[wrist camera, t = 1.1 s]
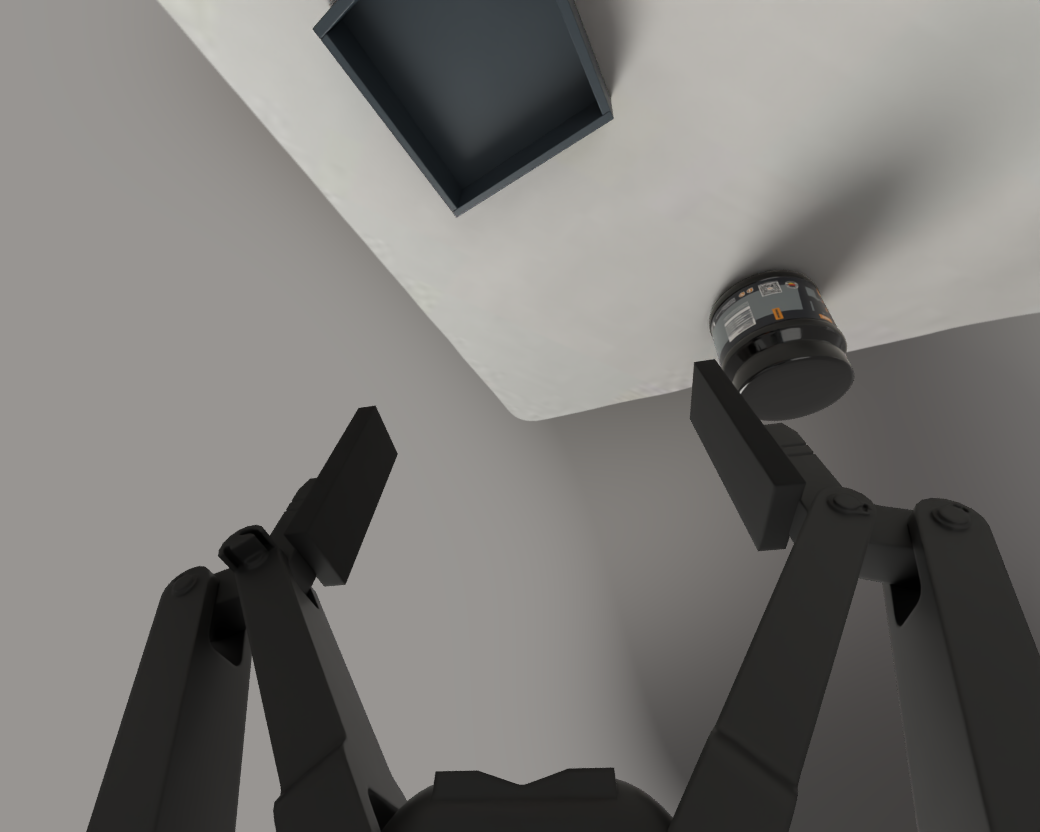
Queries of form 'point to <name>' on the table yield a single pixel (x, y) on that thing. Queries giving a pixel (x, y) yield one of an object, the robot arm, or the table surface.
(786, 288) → the supplement container
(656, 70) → the table surface
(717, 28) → the table surface
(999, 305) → the table surface
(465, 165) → the tray
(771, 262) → the table surface
